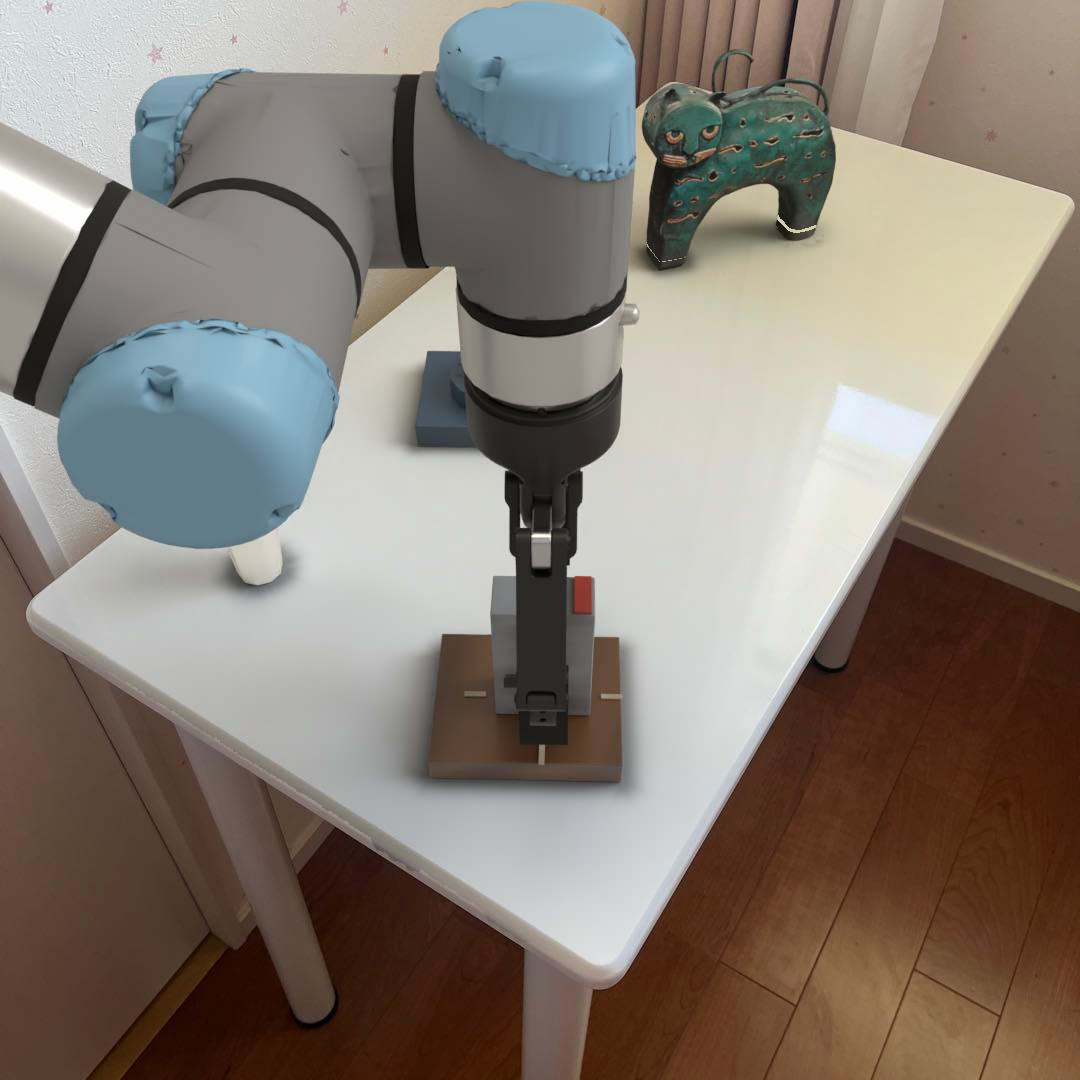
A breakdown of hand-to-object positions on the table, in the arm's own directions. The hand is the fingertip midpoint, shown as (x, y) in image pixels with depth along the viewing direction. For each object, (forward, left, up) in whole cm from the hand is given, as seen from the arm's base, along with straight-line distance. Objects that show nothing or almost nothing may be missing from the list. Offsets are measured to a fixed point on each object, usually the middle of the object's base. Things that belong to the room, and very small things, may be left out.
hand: (546, 644), depth 67 cm
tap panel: (-1, 0, -7) cm, 8 cm away
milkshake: (-21, +12, -8) cm, 26 cm away
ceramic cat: (+17, +57, -8) cm, 60 cm away
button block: (-5, +31, -7) cm, 32 cm away
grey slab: (0, 0, -5) cm, 5 cm away
